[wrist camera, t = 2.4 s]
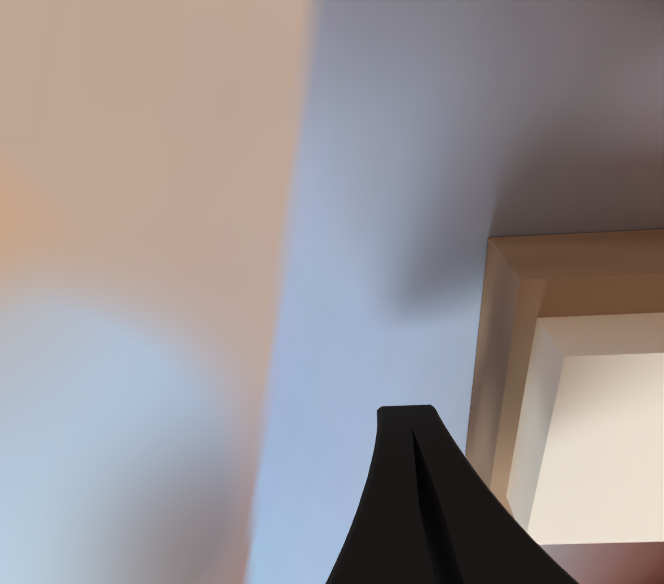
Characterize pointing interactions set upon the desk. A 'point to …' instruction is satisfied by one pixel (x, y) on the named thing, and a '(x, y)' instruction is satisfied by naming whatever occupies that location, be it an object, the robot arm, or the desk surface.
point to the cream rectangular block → (592, 432)
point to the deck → (546, 301)
